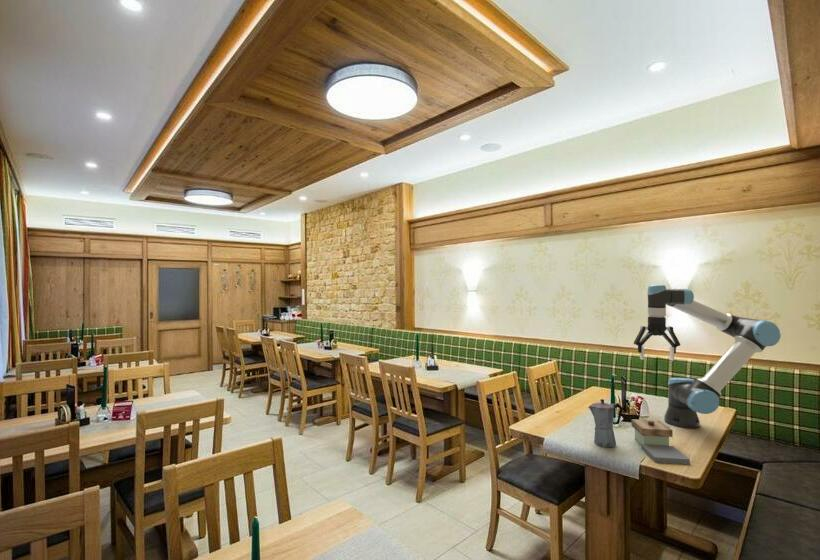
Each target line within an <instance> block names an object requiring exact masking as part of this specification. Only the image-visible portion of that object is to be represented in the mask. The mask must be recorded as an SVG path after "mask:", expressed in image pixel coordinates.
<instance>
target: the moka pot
mask: <svg viewBox="0 0 820 560" xmlns="http://www.w3.org/2000/svg"><path fill="white" fill-rule="evenodd" d="M587 408H588V409H589V411H590V413H591V414H592V416H593V420H594V425H595V426H594V437H593V438H594V439H593V440H594V441H593V442H594V444H595V445H596V444H597V445H596V446H598V445H599V447H603V448H613V447H616V445H617V442H616V437H615V433H614V431H615V430H614V426H613V425H619V424H620V421H621V417H622V414H623V409H624V408H623V407H622V405H620V403H619V402H616V403H607V402H605V399H602V398H601V399H600V402H593V403H591V404H589V406H588V407H587ZM617 408H619V410H618V417H617V420H616V422H614V415H615V413H614V412H615V409H617Z"/></svg>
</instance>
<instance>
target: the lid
mask: <svg viewBox="0 0 820 560" xmlns="http://www.w3.org/2000/svg"><path fill="white" fill-rule="evenodd" d="M631 427H632V428H633V429H634V430H635V429H636V430H637V431H638V432H639V433H640V434H641V435H643V436H660V437H669V438H673V434H674V433H673V432H674V431H673V429H671V428H670V427H669V426H668V425H666V424H665V423H663V422H662V421H660V420H656V419H655V420H652V419H633V418H632V419H631Z"/></svg>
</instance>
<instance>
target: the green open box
mask: <svg viewBox="0 0 820 560" xmlns="http://www.w3.org/2000/svg"><path fill="white" fill-rule="evenodd" d="M634 440H635V441H636V443H638V444H639V445H640V446H641V444H645V445H663V446H670V437H660V436H643V435H641V434H640V433H639V432H638V431H637V430H636V429H635V428H634Z"/></svg>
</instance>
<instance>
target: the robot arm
mask: <svg viewBox="0 0 820 560" xmlns="http://www.w3.org/2000/svg"><path fill="white" fill-rule="evenodd" d="M667 306H669V307H671V308H674V309H676V310H678V311H680V312H682V313H685V314H687V315H689V316H692V317H693V318H696V319H698V320H700V321H702V322H705V323H707V324H710V325H712V326H713V327H716V329H717V330H719V331H720V332H722V333H723V334H726V335H727V336H728V335H729V336H730V337H732V338H734V342H733V343H732V345H731V346H730V347H729V348H728V349H727V350H726V351H725V353H724V354H723V355H721V357H720V358H719V359H718V360H717V361H716V363H714V364H713V365H712V366H711V368H709V370H708V371H707V372H706V373H705V375H704V376H703V377H701V378H696V379H693V378H686V377H670V378H668V383H667V386H668V387H667V395H668V396H667V397H668V399H667V402H668V403H667V404H668V405H667V409H666V411H665V414H664V417H663V418H664V419H663V421H664V422H665V423H667V424H670V425H672V426H676V427H680V428H687V429H688V428H689V429H696V428H699V427H700V426H701V425H700V424H701V422H700V418H699V416H698V414H701V415H709V414H712V413H714V412H716V411H717V410H718V408H719V407H720V398H721V397H722V392H721V391H722V390H723V389H724V387H725V386H727V385H728V384H729V382H730V381H731V380H732V379H733V378H734V377H735V375H737V373H738V372H739V371H740V370H741V369H742V368H743V367H744V366H745V364H746V363H748V362H749V360H750V359H751V358H752V357H753V356H754V355H755V354H756V353H762V352H763V351H764V350H765V349H766V347H772V346H773V347H774V346H775V345H778V343H779V342H780V340H781V332H780V331H781V330H780V328H779V327H778V326H777V324H776V323H774V322H773V321H769V320H766V319H757V318H748V317H742V316H737V315H734V314H732V313H729V312H728V313H723V312H721V311H719V310H717V309H715V308H712V307H710V306H708V305H706V304H703V303H701V302H698V301H696V300H695V295H694V292H693V291H692V290H691V289H689V288H688V289H687V288H667V286H666V285H664V284H650V285H648V287H647V315H648V317H647V326H644V325H641V326H640V330H639V331H638V334H637V335H636V337H635V339H634V341H633V344H634V345H636V346H637V352H638V354H639V359H640V360H642V361H644V360H645V355H644V354H645V353H644V352H645V348H644V347H645V346H643V345H645V343H646V342H647V341H648V340H649V339H650V338H652V336H659V337H660V336H662V337H663V338H664V339H665V340H666V342H667V343H668V344H669V345H670V346H669V360H670V361H672V362H674V361H675V354H676V353H677V347H680V346H681V342H680V341H679V339H678V337H677V336H676V333H675V332H674V327H673V326H670V325H669V326H668V325H667V318H666V316H667ZM666 325H667V326H666ZM647 330H648V331H647ZM646 331H647V332H646ZM666 331H667V332H668V333H669V335H670V336H671V338H670V336H668V334H667V333H666ZM645 332H646V334H645ZM644 334H645V335H644Z"/></svg>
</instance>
